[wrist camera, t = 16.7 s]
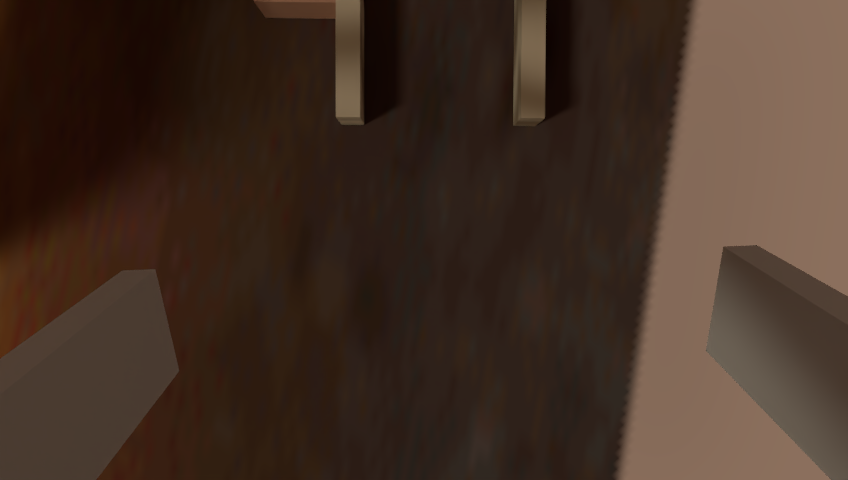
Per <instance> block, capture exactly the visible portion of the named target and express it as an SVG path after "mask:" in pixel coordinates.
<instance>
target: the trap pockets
mask: <svg viewBox="0 0 848 480" xmlns="http://www.w3.org/2000/svg"><path fill="white" fill-rule="evenodd" d="M363 1H364V0H363ZM254 2H255V4H256V5H257V7H258V8H259V9H260V11H261V12H262V13H263V15H264V16H265V17H266V18H328V19H336V0H254Z"/></svg>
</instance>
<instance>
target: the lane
mask: <svg viewBox="0 0 848 480" xmlns="http://www.w3.org/2000/svg"><path fill="white" fill-rule="evenodd" d="M545 58H546V0H514V102H513V126H536V125H537V124H539V123H540V122H541V121H542V120H543V119H545ZM336 118H337V119H338V120H339V122H340V123H341V124H342V125H364V1H363V0H336Z"/></svg>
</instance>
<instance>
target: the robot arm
mask: <svg viewBox="0 0 848 480" xmlns="http://www.w3.org/2000/svg"><path fill="white" fill-rule="evenodd" d="M706 351H707V352H708V353H709V354H710V355H711V356H712V357H713V358H714V359H715V361H716V362H717V363H718V364H719V365H720V366H721V367H722V368H723V369H724V370H725V371H726V372H727V373H728V374H729V375H730V376H731V377H732V378H733V379H734V380H735V381H736V382H737V383H738V384H739V385H740V386H741V387H742V388H743V389H744V390H745V391H746V392H747V393H748V395H749V396H750V397H751V398H752V399H753V400H754V401H755V402H756V403H757V404H758V405H759V406H760V407H761V408H762V409H763V410H764V411H765V412H766V413H767V414H768V415H769V416H770V417H771V418H772V419H773V420H774V421H775V422H776V423H777V424H778V425H779V427H780V428H781V429H782V430H783V431H784V432H785V433H786V434H788V436H789V437H790V438H791V439H792V440H793V441H794V442H795V443H796V444H797V445H798V446H799V447H800V448H801V449H802V450H803V451H804V452H805V453H806V454H807V455H808V456H809V457H810V458H811V459H812V461H813V462H815V464H816V465H817V466H818V467H819V468H820V469H821V470H822V471H823V472H824V473H825V474H826V475H827V476H828V477H829V478H830V479H831V480H848V296H846V295H844V294H842V293H840V292H839V291H837V290H835V289H833V288H831V287H830V286H828V285H826V284H825V283H823V282H821V281H819V280H817V279H816V278H813V277H812V276H810V275H809V274H807V273H805V272H803V271H801V270H800V269H798V268H796V267H794V266H792V265H791V264H789V263H787V262H785V261H784V260H782V259H780V258H778V257H777V256H775V255H773V254H771V253H769V252H768V251H766V250H764V249H762V248H761V247H758V246H757V245H755V246H754V245H753V246H728V247H723V252H722V258H721V264H720V270H719V276H718V282H717V288H716V294H715V300H714V306H713V312H712V318H711V324H710V330H709V336H708V342H707V348H706ZM178 372H179V369H178V364H177V360H176V356H175V351H174V347H173V343H172V339H171V334H170V330H169V326H168V322H167V317H166V313H165V309H164V305H163V300H162V296H161V292H160V288H159V283H158V279H157V275H156V271H155V269H151V270H126V271H121V272H120V273H118V274H117V275H116V276H114V277H113V278H111V279H110V280H109V281H107V282H106V283H105V284H103V285H102V286H100V287H99V288H98V289H96V290H95V291H93V292H92V293H91V294H89V295H88V296H87V297H85V298H84V299H82V300H81V301H80V302H78V303H77V304H75V305H74V306H73V307H71V308H70V309H69V310H67V311H66V312H64V313H63V314H62V315H60V316H59V317H57V318H56V319H55V320H53V321H52V322H51V323H49V324H48V325H46V326H45V327H44V328H42V329H41V330H39V331H38V332H37V333H35V334H34V335H33V336H31V337H30V338H28V339H27V340H26V341H24V342H23V343H21V344H20V345H19V346H17V347H16V348H15V349H13V350H12V351H10V352H9V353H8V354H6V355H5V356H3V357H2V358H1V359H0V480H96V479H97V478H98V477H99V475H100V474H101V473H102V471H103V470H104V469H105V467H106V466H107V465H108V463H109V462H110V461H111V459H112V458H113V457H114V456H115V454H116V453H117V452H118V450H119V449H120V448H121V446H122V445H123V444H124V442H125V441H126V440H127V439H128V437H129V436H130V435H131V433H132V432H133V431H134V429H135V428H136V427H137V425H138V424H139V423H140V422H141V420H142V419H143V418H144V416H145V415H146V414H147V412H148V411H149V410H150V408H151V407H152V406H153V405H154V403H155V402H156V401H157V399H158V398H159V397H160V395H161V394H162V393H163V391H164V390H165V389H166V387H167V386H168V385H169V384H170V382H171V381H172V380H173V378H174V377H175V376H176V374H177V373H178Z"/></svg>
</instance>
